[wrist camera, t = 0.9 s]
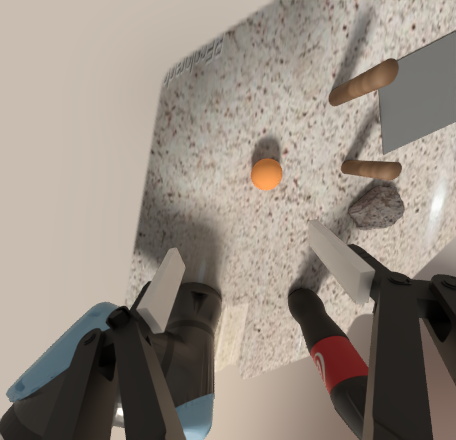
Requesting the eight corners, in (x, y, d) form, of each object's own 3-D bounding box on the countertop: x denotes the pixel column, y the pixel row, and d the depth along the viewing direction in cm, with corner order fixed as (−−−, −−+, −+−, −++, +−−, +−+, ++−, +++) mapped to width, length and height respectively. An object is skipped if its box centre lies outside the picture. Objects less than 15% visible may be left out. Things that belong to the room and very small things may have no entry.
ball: (254, 191, 33) (261, 198, 28) (244, 165, 31) (249, 168, 26) (279, 179, 32) (291, 184, 27) (270, 152, 30) (281, 152, 25)
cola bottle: (281, 307, 46) (379, 537, 18) (289, 284, 43) (420, 519, 15) (309, 308, 47) (442, 529, 19) (319, 286, 44) (493, 510, 16)
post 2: (342, 175, 33) (384, 183, 25) (340, 163, 32) (383, 167, 24) (354, 170, 33) (402, 175, 24) (353, 157, 32) (401, 158, 23)
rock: (340, 214, 36) (354, 221, 33) (382, 176, 34) (402, 178, 30) (360, 235, 39) (376, 244, 35) (401, 201, 36) (422, 207, 33)
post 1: (330, 108, 28) (377, 90, 20) (327, 92, 27) (375, 65, 19) (345, 101, 28) (399, 79, 20) (342, 84, 27) (398, 53, 19)
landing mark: (383, 154, 32) (384, 154, 32) (377, 71, 27) (378, 70, 26) (458, 120, 30) (459, 120, 30) (467, 25, 25) (469, 24, 25)
